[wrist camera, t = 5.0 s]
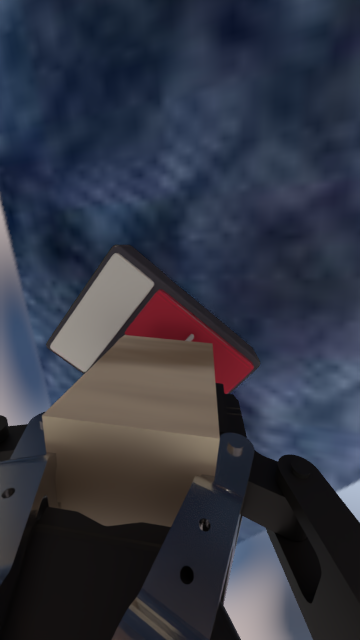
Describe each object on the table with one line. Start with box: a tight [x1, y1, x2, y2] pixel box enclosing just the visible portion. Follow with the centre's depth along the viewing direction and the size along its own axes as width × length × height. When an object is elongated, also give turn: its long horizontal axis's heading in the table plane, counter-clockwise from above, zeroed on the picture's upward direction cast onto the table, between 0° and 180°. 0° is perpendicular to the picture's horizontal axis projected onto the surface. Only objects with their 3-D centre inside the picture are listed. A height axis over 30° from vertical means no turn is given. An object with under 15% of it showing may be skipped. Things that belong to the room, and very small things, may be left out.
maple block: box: [42, 335, 220, 527], centre depth 10 cm, size 5×5×7 cm
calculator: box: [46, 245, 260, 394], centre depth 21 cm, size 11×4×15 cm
